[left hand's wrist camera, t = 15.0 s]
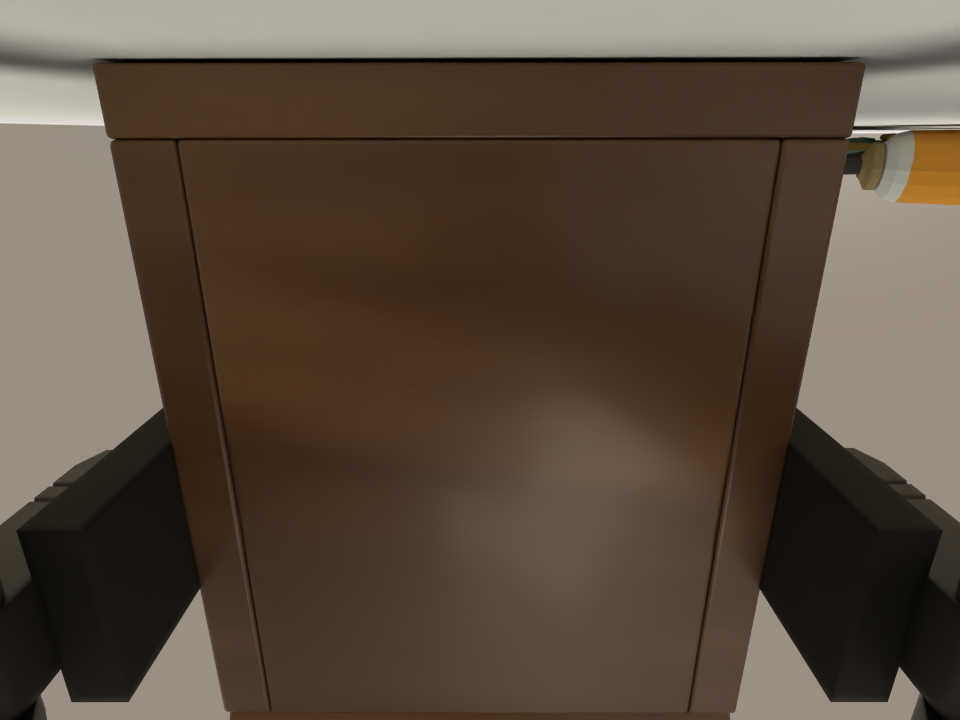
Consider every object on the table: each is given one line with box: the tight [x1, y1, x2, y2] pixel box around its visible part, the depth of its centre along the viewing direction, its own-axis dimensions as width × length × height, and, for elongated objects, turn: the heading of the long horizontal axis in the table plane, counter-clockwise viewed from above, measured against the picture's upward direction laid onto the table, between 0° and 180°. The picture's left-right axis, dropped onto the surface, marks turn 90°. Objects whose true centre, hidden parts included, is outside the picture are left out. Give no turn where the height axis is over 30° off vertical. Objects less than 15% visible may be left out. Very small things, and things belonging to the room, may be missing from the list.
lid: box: [230, 708, 730, 720], centre depth 20 cm, size 19×9×8 cm, turn 0°
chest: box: [93, 62, 865, 713], centre depth 17 cm, size 18×9×11 cm, turn 0°
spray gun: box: [843, 130, 960, 205], centre depth 40 cm, size 4×17×15 cm
